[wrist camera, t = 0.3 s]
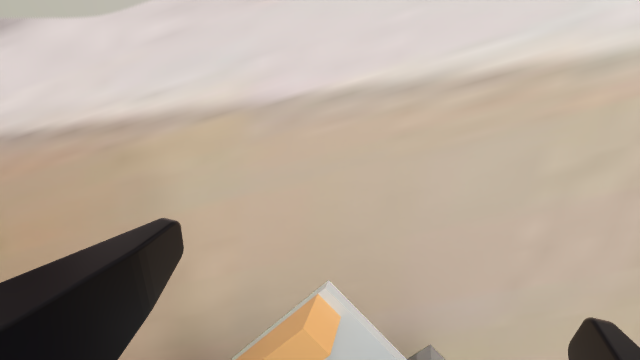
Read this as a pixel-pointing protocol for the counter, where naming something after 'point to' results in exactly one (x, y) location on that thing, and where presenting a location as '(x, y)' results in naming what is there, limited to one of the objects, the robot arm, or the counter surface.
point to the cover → (321, 333)
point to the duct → (427, 354)
